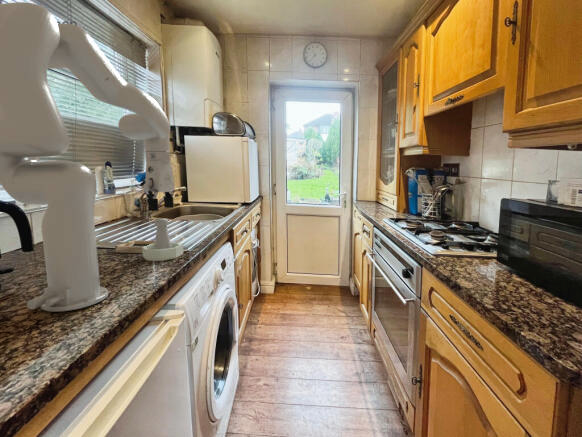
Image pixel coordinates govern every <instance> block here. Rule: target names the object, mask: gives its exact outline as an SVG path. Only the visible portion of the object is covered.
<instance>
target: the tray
mask: <svg viewBox="0 0 582 437" xmlns="http://www.w3.org/2000/svg"><path fill="white" fill-rule="evenodd" d="M133 244H149V245H150V244H155V240H134V239H133V240H132V241H129V242H125V243H123V244H122V243H121V244H118V245H116V246H114V251H115V253H130V254H132V253H133V254H134V253H135V254H136V253H137V254H138V253H139V254H143V252H142V247H131V245H133Z"/></svg>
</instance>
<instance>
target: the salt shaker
mask: <svg viewBox="0 0 582 437" xmlns="http://www.w3.org/2000/svg"><path fill="white" fill-rule="evenodd" d="M154 225H155V227H156V233H155V240H154V241H155V245H154V249H168V248H172V245H171V238H170V233H169V229H168V225H169V219H168V218H164V217H163V218H156V219H155V220H154Z"/></svg>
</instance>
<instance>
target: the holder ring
mask: <svg viewBox="0 0 582 437" xmlns="http://www.w3.org/2000/svg"><path fill="white" fill-rule="evenodd" d="M154 245H155V244H150V245H147V246H144V247H142V252H143V253H142V257H143V258H144V259H145V261H150V262H151V261H153V262H155V261H156V262H157V261H158V262H159V261H160V262H162V261H167V260H172V259H177V258H179V257H180V256H181V255H183V254H184V244H182V243H180V242H171V245H172V248H168V249H154Z"/></svg>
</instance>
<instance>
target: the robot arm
mask: <svg viewBox="0 0 582 437" xmlns="http://www.w3.org/2000/svg"><path fill="white" fill-rule="evenodd" d="M48 69H67V70H68V71H70V72H71V73H72V74H73V76H74V77H75V78H76V79H77V80H78V81H79V82H80V83H81V84H82V85H83V86H84V88H85V89H86V90H87V91H88V92H89V93H90V94H91V96H92V97H93V98H95V99H96V100H98V101H100V102H101V103H104V104H108V105H111V106H114V107H118V108H121V109H123V110H128V111H130V112H133V113H131V114H125V115H122V116H121V117H120V119H119V120H118V125H117V126H118V130H119V132H120V134H122V136H123V137H125V138H127V139H128V140H132V141H143V143H144V151H145V152H144V154H145V156H144V157H145V183H144V184H143V185H142V188H143V191H144V194H145V196H146V199H147V208H148V209H147V210H148V212H158V211H159V198H157V197H158V194H159V192H160V193H163V206H164V208H167V209H168V208H169V209H170V208H174V206H175V204H174V195H175V194H174V192H175V180H174V172H173V167H172V162H171V149H170V148H171V147H170V146H171V145H170V132H171V124H170V121H169V119H168V116H167V115H166V113H165V111H164V110H163V109H162V108H161V106H160V104H159V103H158V101H156V100H155V99H154V98H153V97H152V96H151V95H150V94H148V93H147V92H145V91H143V90H142V89H140V88H138V87H137V86H136V85H133V84H132V83H130V82H128V81H126V80H125V79H124V78H122V76H121V75H120V73H118V71H117V70H116V68H115V67H114V66H113V64H112V63H111V62H110V60H109V59H108V58H107V56H106V55H105V54H104V52H103V51H102V50H101V49H100V47H99V46H98V45H97V43H96V42H95V40H94V39H93V38H92V37H91V35H90V34H89V33H88V32H87V31H86V30H85V29H84V28H83V27H81V26H79V25H77V24H73V23H58V22H57V20H56V18H55V17H54V15H53V14H52V13H51V12H50V11H49V10H48V9H47V8H45V7H43V6H42V5H38V4H36V3H32V2H25V1H24V2H23V1H22V2H20V1H19V2H17V1H16V2H9V3H8V2H7V3H6V2H5V3H0V185H1V186H2V188H3V189H4V191H5V192H6V193H7V194H8V195H9V196H10V198H12V200H15V201H17V202H19V203H22V204H25V205H26V204H27V205H38V206H39V205H43V206H44V205H45V206H47V207H46V210H45V211H44V214H43V216H42V220H41V237H42V246H43V252H44V262H45V271H46V280H47V281H46V283H47V287H45V288H43V293H42V294H41V295H40V296H37V297H35V298H32V299H29V300H28V301H27V303H26V306H27V308H28V309H29V310H35V309H37V308H39V307H40V309H42V310H43V311H46V312H52V313H53V312H57V313H58V312H67V311H73V310H74V311H75V310H80V309H83V308H87V307H89V306H90V307H91V306H93V305H95V304H98V303H100V302H102V301H104V300H105V299H106V298H108V296H109V290H108V288H106V287H104V286H101V282H100V271H99V270H100V269H99V259H98V248H97V247H98V246H97V239H96V238H97V236H96V235H97V234H96V225H95V202H96V194H97V189H98V188H97V187H98V186H97V178H96V176H95V174H94V172H93V171H92V170H91V169H90V168H89V167H88V166H87V165H85V164H83V163H80V162H76V161H71V160H44V161H40V159H39V158H42V157H43V158H45V157H57V156H59V155H63V154H64V153H66V152H67V151H68V150H69V147H70V145H71V140H70V136H69V135H70V134H69V132H68V128H67V127H66V124H65V122H64V119H63V117H62V114H61V112H60V110H59V108H58V105H57V103H56V101H55V98H54V95H53V94H52V90H51V88H50V86H49V82H48V73H47V72H48Z"/></svg>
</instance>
